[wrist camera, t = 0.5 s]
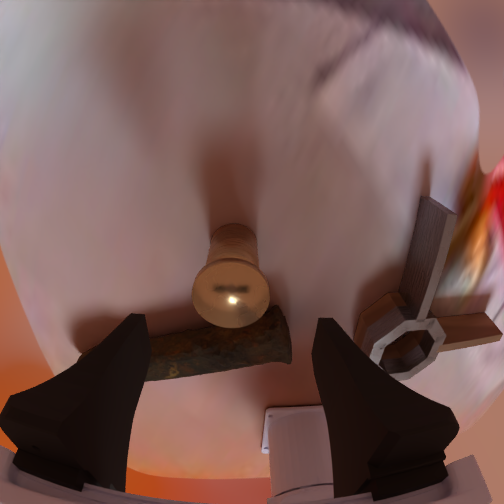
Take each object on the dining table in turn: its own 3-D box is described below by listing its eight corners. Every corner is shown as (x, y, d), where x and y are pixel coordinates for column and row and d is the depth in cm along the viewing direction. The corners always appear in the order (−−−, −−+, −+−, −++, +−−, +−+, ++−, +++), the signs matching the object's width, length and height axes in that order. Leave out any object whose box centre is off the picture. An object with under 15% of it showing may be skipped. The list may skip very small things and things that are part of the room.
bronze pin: (262, 271, 22) (267, 328, 16) (205, 270, 22) (194, 326, 16) (264, 218, 20) (272, 264, 15) (203, 217, 20) (189, 262, 15)
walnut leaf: (471, 341, 26) (486, 363, 23) (348, 356, 26) (358, 385, 23) (494, 287, 23) (515, 308, 20) (365, 293, 23) (381, 322, 20)
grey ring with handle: (412, 349, 26) (426, 376, 23) (348, 356, 26) (358, 385, 23) (459, 200, 20) (487, 218, 17) (385, 192, 19) (409, 210, 16)
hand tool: (282, 294, 23) (289, 336, 19) (290, 335, 25) (297, 378, 21) (68, 329, 25) (47, 364, 20) (88, 362, 26) (72, 397, 22)
